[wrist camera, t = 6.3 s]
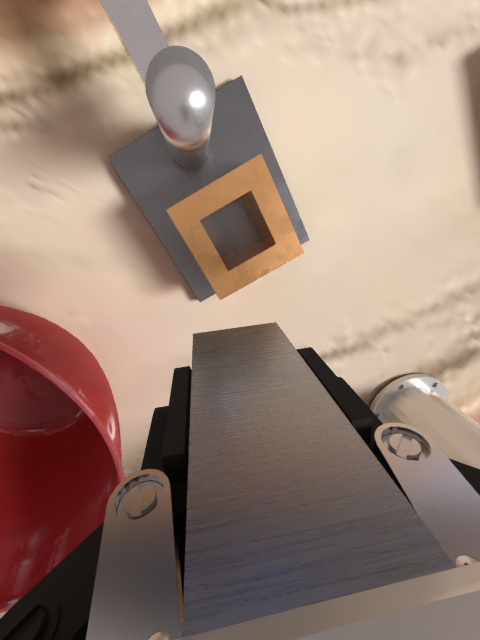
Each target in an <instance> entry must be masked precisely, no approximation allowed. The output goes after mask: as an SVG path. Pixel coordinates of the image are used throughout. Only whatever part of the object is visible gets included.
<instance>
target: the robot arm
mask: <svg viewBox="0 0 480 640" xmlns="http://www.w3.org/2000/svg"><path fill="white" fill-rule="evenodd" d="M297 352H298V353H299V354H300V356H301V357H302V358H303V360H304V361H305V362H306V364H307V365H308V366H309V368H310V369H311V370H312V372H313V373H314V374H315V376H316V377H317V379H318V380H319V381H320V383H321V384H322V385H323V387H324V388H325V389H326V391H327V392H328V393H329V395H330V396H331V397H332V399H333V400H334V402H335V403H336V404H337V406H338V407H339V408H340V410H341V411H342V412H343V414H344V415H345V416H346V418H347V419H348V420H349V422H350V423H351V425H352V426H353V427H354V429H355V430H356V431H357V433H358V434H359V435H360V437H361V438H362V439H363V441H364V442H365V443H366V445H367V446H368V447H369V449H370V450H371V452H372V453H373V454H374V456H375V457H376V458H377V460H378V461H379V462H380V464H381V465H382V466H383V468H384V469H385V470H386V472H387V473H388V475H389V476H390V477H391V479H392V480H393V481H394V483H395V484H396V485H397V487H398V488H399V489H400V491H401V492H402V493H403V495H404V496H405V497H406V499H407V500H408V502H409V503H410V504H411V506H412V507H413V508H414V510H415V511H416V512H417V514H418V515H419V516H420V518H421V519H422V520H423V522H424V523H425V525H426V526H427V527H428V529H429V530H430V531H431V533H432V534H433V535H434V537H435V538H436V539H437V541H438V542H439V543H440V545H441V546H442V548H443V549H444V550H445V552H446V553H447V554H448V556H449V557H450V558H451V560H452V561H453V562H454V564H455V565H456V566H457V568H453V569H449V570H445V571H441V572H437V573H433V574H429V575H425V576H421V577H417V578H413V579H409V580H405V581H401V582H398V583H394V584H390V585H386V586H382V587H378V588H374V589H370V590H366V591H362V592H358V593H354V594H351V595H347V596H343V597H339V598H335V599H331V600H327V601H323V602H319V603H315V604H312V605H308V606H304V607H300V608H296V609H292V610H288V611H284V612H281V613H277V614H273V615H269V616H265V617H261V618H257V619H254V620H250V621H246V622H242V623H238V624H235V625H231V626H227V627H223V628H219V629H216V630H212V631H208V632H204V633H200V634H197V635H193V636H189V637H185V638H182V627H183V600H184V572H185V545H186V517H187V490H188V462H189V434H190V407H191V379H192V370H191V369H190V366H187V367H181V368H175V369H174V375H173V381H172V388H171V395H170V401H169V406H165V407H159V408H155V410H154V413H153V418H152V422H151V427H150V431H149V436H148V440H147V445H146V449H145V454H144V458H143V463H142V467H141V470H140V471H138V472H136V473H133V474H131V475H130V476H128V477H127V478H125V479H124V480H123V481H122V482H121V483H120V484H119V485H118V486H117V487H116V488H115V489H114V491H113V493H112V494H111V496H110V498H109V501H108V504H107V508H106V514H105V520H104V522H103V523H102V524H101V525H100V526H99V527H98V528H97V529H95V530H94V531H93V532H92V533H91V534H90V535H89V536H88V537H87V538H86V539H85V540H84V541H82V542H81V543H80V544H79V545H78V546H77V547H76V548H75V549H74V550H73V551H72V552H71V553H69V554H68V555H67V556H66V557H65V558H64V559H63V560H62V561H61V562H60V563H59V564H58V565H57V566H55V567H54V568H53V569H52V570H51V571H50V572H49V573H48V574H47V575H46V576H45V577H44V578H42V579H41V580H40V581H39V582H38V583H37V584H36V585H35V586H34V587H33V588H32V589H31V590H30V591H28V592H27V593H26V594H25V595H24V596H23V597H22V598H21V599H20V600H19V601H18V602H17V603H15V604H14V605H13V606H12V607H11V608H10V609H9V610H8V611H7V613H6V614H5V615H4V616H3V617H2V618H1V619H0V640H480V424H479V423H477V422H476V421H475V420H473V419H472V418H471V417H469V416H468V415H467V414H465V413H464V412H462V411H461V410H460V409H458V408H457V407H456V406H454V405H453V404H452V403H450V402H449V401H448V393H447V390H446V388H445V386H444V385H443V384H442V383H441V382H440V381H438V380H437V379H435V378H434V377H432V376H430V375H426V374H410V375H406V376H403V377H400V378H398V379H396V380H394V381H392V382H391V383H389V384H388V385H386V386H385V387H384V388H383V389H382V390H381V391H380V392H379V393H378V394H377V396H376V397H375V398H374V400H373V402H372V403H371V406H370V408H369V407H368V406H367V405H366V404H365V403H364V402H363V401H362V399H361V398H360V397H359V396H358V395H357V394H356V393H355V392H354V390H353V389H352V388H351V387H350V386H349V385H348V384H347V383H346V382H345V380H344V379H342V378H341V377H337V376H336V375H335V374H334V373H333V371H332V370H331V369H330V368H329V367H328V366H327V365H326V363H325V362H324V361H323V360H322V359H321V358H320V357H319V355H318V354H317V353H316V352H315V351H314V350H313V349H312V348H311V347H309V348H303V349H297Z"/></svg>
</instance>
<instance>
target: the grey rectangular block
mask: <svg viewBox="0 0 480 640" xmlns="http://www.w3.org/2000/svg"><path fill="white" fill-rule="evenodd" d="M453 568H457V566H456V565H455V564H454V562H453V561H452V560H451V558H450V557H449V556H448V554H447V553H446V552H445V550H444V549H443V548H442V546H441V545H440V543H439V542H438V541H437V539H436V538H435V537H434V535H433V534H432V533H431V531H430V530H429V529H428V527H427V526H426V525H425V523H424V522H423V520H422V519H421V518H420V516H419V515H418V514H417V512H416V511H415V510H414V508H413V507H412V506H411V504H410V503H409V502H408V500H407V499H406V497H405V496H404V495H403V493H402V492H401V491H400V489H399V488H398V487H397V485H396V484H395V483H394V481H393V480H392V479H391V477H390V476H389V475H388V473H387V472H386V470H385V469H384V468H383V466H382V465H381V464H380V462H379V461H378V460H377V458H376V457H375V456H374V454H373V453H372V452H371V450H370V449H369V447H368V446H367V445H366V443H365V442H364V441H363V439H362V438H361V437H360V435H359V434H358V433H357V431H356V430H355V429H354V427H353V426H352V425H351V423H350V422H349V420H348V419H347V418H346V416H345V415H344V414H343V412H342V411H341V410H340V408H339V407H338V406H337V404H336V403H335V402H334V400H333V399H332V397H331V396H330V395H329V393H328V392H327V391H326V389H325V388H324V387H323V385H322V384H321V383H320V381H319V380H318V379H317V377H316V376H315V374H314V373H313V372H312V370H311V369H310V368H309V366H308V365H307V364H306V362H305V361H304V360H303V358H302V357H301V356H300V354H299V353H298V352H297V350H296V349H295V347H294V346H293V345H292V343H291V342H290V341H289V339H288V338H287V337H286V335H285V334H284V333H283V331H282V330H281V329H280V327H279V326H278V324H277V323H276V322H275V323H268V324H261V325H254V326H246V327H239V328H232V329H225V330H218V331H210V332H203V333H196V334H193V352H192V379H191V407H190V434H189V462H188V490H187V517H186V545H185V572H184V600H183V627H182V638H185V637H189V636H193V635H197V634H200V633H204V632H208V631H212V630H216V629H219V628H223V627H227V626H231V625H235V624H238V623H242V622H246V621H250V620H254V619H257V618H261V617H265V616H269V615H273V614H277V613H281V612H284V611H288V610H292V609H296V608H300V607H304V606H308V605H312V604H315V603H319V602H323V601H327V600H331V599H335V598H339V597H343V596H347V595H351V594H354V593H358V592H362V591H366V590H370V589H374V588H378V587H382V586H386V585H390V584H394V583H398V582H401V581H405V580H409V579H413V578H417V577H421V576H425V575H429V574H433V573H437V572H441V571H445V570H449V569H453Z"/></svg>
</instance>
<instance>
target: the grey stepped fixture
mask: <svg viewBox="0 0 480 640" xmlns="http://www.w3.org/2000/svg"><path fill="white" fill-rule="evenodd" d="M99 1H100V3H101V5H102V7H103V9H104V11H105V13H106V14H107V16H108V18H109V20H110V22H111V24H112V26H113V28H114V29H115V31H116V33H117V35H118V37H119V39H120V41H121V42H122V44H123V46H124V48H125V50H126V52H127V54H128V56H129V57H130V59H131V61H132V63H133V65H134V67H135V69H136V70H137V72H138V74H139V76H140V78H141V80H142V82H143V83H144V85H145V88H146V94H147V98H148V101H149V104H150V106H151V108H152V111H153V113H154V115H155V118H156V120H157V122H158V125H159V126H158V127H157V128H155V129H153V130H152V131H150V132H148V133H147V134H145V135H144V136H142V137H140V138H139V139H137V140H135V141H134V142H132V143H131V144H129V145H127V146H126V147H124V148H122V149H121V150H119V151H117V152H116V153H114V154H113V155H111V156H109V157H108V159H109V160H110V162H111V164H112V165H113V167H114V168H115V170H116V171H117V173H118V175H119V176H120V178H121V179H122V181H123V182H124V184H125V185H126V187H127V189H128V190H129V192H130V193H131V195H132V196H133V198H134V200H135V201H136V203H137V204H138V206H139V207H140V209H141V211H142V212H143V214H144V215H145V217H146V218H147V220H148V222H149V223H150V225H151V226H152V228H153V229H154V231H155V233H156V234H157V236H158V237H159V239H160V240H161V242H162V244H163V245H164V247H165V248H166V250H167V251H168V253H169V254H170V256H171V258H172V259H173V261H174V262H175V264H176V265H177V267H178V269H179V270H180V272H181V273H182V275H183V276H184V278H185V280H186V281H187V283H188V284H189V286H190V287H191V289H192V291H193V292H194V294H195V295H196V297H197V298H198V300H199V302H201V301H203V300H205V299H207V298H208V297H210V296H212V295H214V294H215V293H216V294H217V296H218V297H219V299H220V300H221V299H223V298H225V297H227V296H229V295H230V294H232V293H234V292H236V291H237V290H239V289H241V288H243V287H244V286H246V285H248V284H250V283H251V282H253V281H255V280H257V279H258V278H260V277H262V276H264V275H266V274H267V273H269V272H271V271H273V270H274V269H276V268H278V267H280V266H281V265H283V264H285V263H287V262H288V261H290V260H292V259H294V258H296V257H297V256H299V255H301V254H303V253H304V251H303V249H302V247H301V244H303V243H305V242H307V241H308V240H309V237H308V235H307V233H306V230H305V228H304V225H303V223H302V220H301V218H300V216H299V213H298V211H297V208H296V206H295V203H294V201H293V199H292V196H291V194H290V191H289V189H288V186H287V184H286V182H285V179H284V177H283V174H282V172H281V170H280V167H279V165H278V162H277V160H276V157H275V155H274V153H273V150H272V148H271V145H270V143H269V140H268V138H267V136H266V133H265V131H264V128H263V126H262V123H261V121H260V119H259V116H258V114H257V111H256V109H255V106H254V104H253V102H252V99H251V97H250V94H249V92H248V90H247V87H246V85H245V82H244V80H243V77H242V75H241V76H240V77H238V78H236V79H235V80H233V81H232V82H230V83H228V84H227V85H225V86H223V87H222V88H220V89H219V90H217V91H215V83H214V79H213V76H212V73H211V71H210V69H209V67H208V66H207V64H206V63H205V61H204V60H203V59H202V58H201V57H200V56H199V55H198V54H197V53H195V52H194V51H192V50H190V49H188V48H186V47H182V46H170V47H169V45H168V43H167V41H166V39H165V37H164V35H163V33H162V31H161V29H160V27H159V25H158V23H157V21H156V19H155V16H154V14H153V12H152V10H151V8H150V6H149V4H148V2H147V0H99Z"/></svg>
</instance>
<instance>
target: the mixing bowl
mask: <svg viewBox="0 0 480 640" xmlns="http://www.w3.org/2000/svg"><path fill="white" fill-rule="evenodd" d="M123 480H124V473H123V468H122V461H121V440H120V427H119V420H118V414H117V409H116V405H115V401H114V398H113V394H112V391H111V388H110V385H109V383H108V380H107V378H106V376H105V374H104V372H103V370H102V368H101V367H100V365H99V363H98V362H97V360H96V358H95V357H94V356H93V354H92V353H91V352H90V351H89V350H88V349H87V348H86V347H85V345H84V344H83V343H82V342H81V341H79V340H78V339H77V338H76V337H74V336H73V335H72V334H70V333H69V332H68V331H66V330H65V329H63V328H61V327H60V326H58V325H56V324H54V323H52V322H50V321H48V320H46V319H44V318H41V317H39V316H36V315H33V314H30V313H26V312H23V311H20V310H17V309H13V308H9V307H5V306H0V613H2V612H6V611H8V610H9V609H10V608H11V607H12V606H13V605H14V604H15V603H17V602H18V601H19V600H20V599H21V598H22V597H23V596H24V595H25V594H26V593H27V592H28V591H30V590H31V589H32V588H33V587H34V586H35V585H36V584H37V583H38V582H39V581H40V580H41V579H42V578H44V577H45V576H46V575H47V574H48V573H49V572H50V571H51V570H52V569H53V568H54V567H55V566H57V565H58V564H59V563H60V562H61V561H62V560H63V559H64V558H65V557H66V556H67V555H68V554H69V553H71V552H72V551H73V550H74V549H75V548H76V547H77V546H78V545H79V544H80V543H81V542H82V541H84V540H85V539H86V538H87V537H88V536H89V535H90V534H91V533H92V532H93V531H94V530H95V529H97V528H98V527H99V526H100V525H101V524H102V523H103V522H104V520H105V514H106V508H107V504H108V501H109V498H110V496H111V494H112V493H113V491H114V489H115V488H116V487H117V486H118V485H119V484H120V483H121V482H122V481H123Z"/></svg>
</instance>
